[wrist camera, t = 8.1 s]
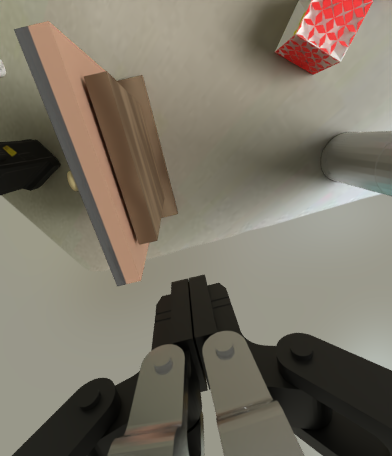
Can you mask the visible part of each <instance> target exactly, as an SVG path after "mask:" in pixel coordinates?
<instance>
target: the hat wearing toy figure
mask: <svg viewBox="0 0 392 456" xmlns="http://www.w3.org/2000/svg"><path fill="white" fill-rule="evenodd" d="M5 75H6V69H5V67H4V65H3V62H2V61H1V60H0V77H4V76H5Z"/></svg>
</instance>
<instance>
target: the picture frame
mask: <svg viewBox="0 0 392 456" xmlns="http://www.w3.org/2000/svg"><path fill="white" fill-rule="evenodd" d="M14 31H15V33H16V36H17V38H18V41H19V43H20V46H21V48H22V51H23V53H24V56H25V58H26V61H27V63H28V66H29V68H30V71H31V73H32V76H33V78H34V81H35V83H36V86H37V88H38V91H39V93H40V96H41V98H42V100H43V103H44V105H45V108H46V110H47V113H48V115H49V118H50V120H51V123H52V125H53V128H54V130H55V133H56V135H57V138H58V140H59V143H60V145H61V148H62V150H63V153H64V155H65V158H66V160H67V163H68V165H69V168H70V170H71V171H69V172H68V173H67V178H68V182H69V185H70V186H71V188H72V189H73V190H74V191H79V192H80V195H81V197H82V200H83V202H84V205H85V207H86V210H87V212H88V215H89V217H90V220H91V222H92V225H93V227H94V230H95V232H96V235H97V237H98V240H99V242H100V245H101V247H102V250H103V252H104V255H105V257H106V260H107V262H108V265H109V267H110V270H111V272H112V274H113V277H114V279H115V282H116V284H117V286H121V285H125V284H129V283H133V282H137V281H141V278H142V274H143V269H144V264H145V260H146V255H147V250H148V246H149V243H145V244H141V245H139V243H138V240H137V237H136V234H135V231H134V228H133V225H132V222H131V219H130V216H129V213H128V210H127V207H126V204H125V201H124V198H123V195H122V192H121V189H120V186H119V183H118V180H117V177H116V174H115V171H114V168H113V165H112V162H111V159H110V155H109V152H108V149H107V146H106V143H105V140H104V137H103V134H102V131H101V128H100V125H99V122H98V119H97V116H96V113H95V110H94V107H93V104H92V101H91V98H90V95H89V92H88V89H87V86H86V83H85V80H84V76H88V75H92V74H96V73H101V72H105V70H104V69H103V68H101V67H100V66H99V65H98V64H97V63H96V62H95V61H93V60H92V59H91V58H90V57H89V56H88V55H87V54H85V53H84V52H83V51H82V50H81V49H80V48H79V47H77V46H76V45H75V44H74V43H73V42H72V41H71V40H69V39H68V38H67V37H66V36H65V35H64V34H63V33H62V32H60V31H59V30H58V29H57V28H56V27H55V26H54V25H52V24H51V23H50V22H49V21H47V22H43V23H39V24H34V25H30V26H26V27H22V28H18V29H14Z"/></svg>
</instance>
